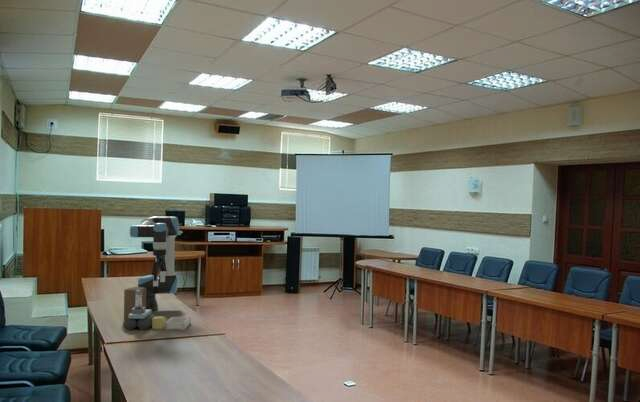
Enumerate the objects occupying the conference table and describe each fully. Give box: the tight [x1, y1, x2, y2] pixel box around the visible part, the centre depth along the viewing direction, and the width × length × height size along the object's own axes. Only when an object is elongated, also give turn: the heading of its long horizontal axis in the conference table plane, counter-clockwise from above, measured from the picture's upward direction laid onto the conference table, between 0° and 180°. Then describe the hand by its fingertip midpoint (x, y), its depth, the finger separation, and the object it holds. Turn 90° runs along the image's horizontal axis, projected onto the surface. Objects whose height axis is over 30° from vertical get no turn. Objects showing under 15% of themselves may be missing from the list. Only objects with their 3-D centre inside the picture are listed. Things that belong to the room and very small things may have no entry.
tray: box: [164, 316, 191, 331], centre depth 288 cm, size 15×12×4 cm
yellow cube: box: [151, 316, 166, 330], centre depth 285 cm, size 5×6×6 cm
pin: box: [135, 290, 142, 309], centre depth 285 cm, size 4×4×13 cm
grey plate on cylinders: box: [123, 307, 156, 331], centre depth 285 cm, size 14×15×12 cm
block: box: [123, 286, 146, 322], centre depth 301 cm, size 10×10×20 cm
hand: (159, 284), depth 285 cm, fingers open, 13 cm apart
